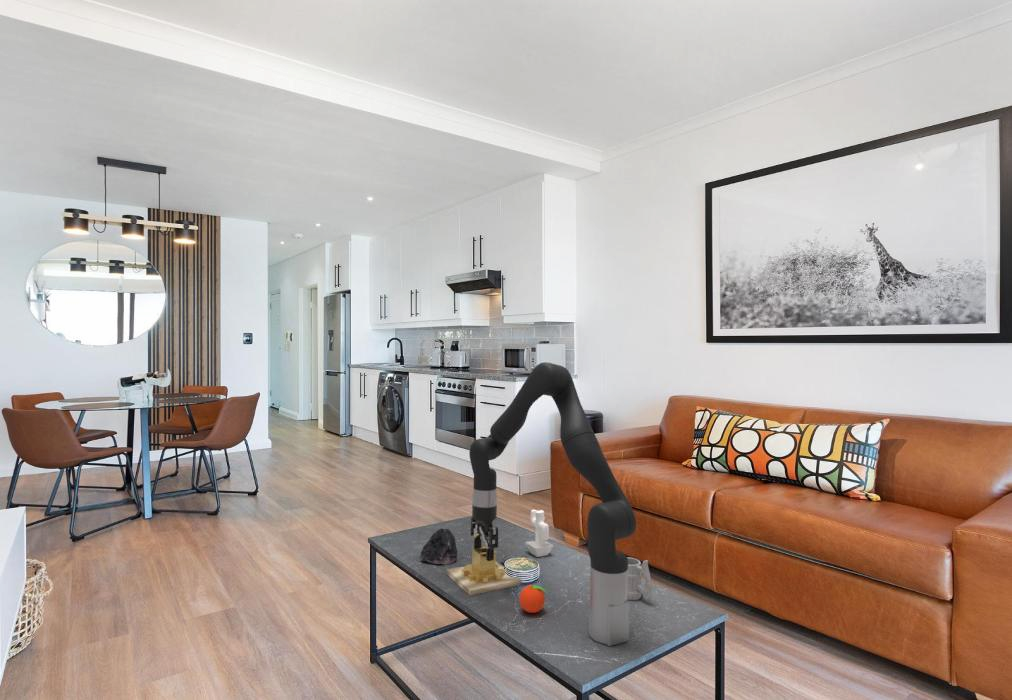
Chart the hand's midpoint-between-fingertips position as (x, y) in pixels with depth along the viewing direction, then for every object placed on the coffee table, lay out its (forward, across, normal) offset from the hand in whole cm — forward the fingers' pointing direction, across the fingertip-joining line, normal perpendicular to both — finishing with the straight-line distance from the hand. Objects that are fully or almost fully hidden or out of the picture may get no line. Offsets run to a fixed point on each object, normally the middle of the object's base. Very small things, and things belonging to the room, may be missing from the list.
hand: (483, 555), depth 175 cm
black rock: (+8, +22, +5) cm, 24 cm away
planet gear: (+6, 0, 0) cm, 6 cm away
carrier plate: (+7, 0, 0) cm, 7 cm away
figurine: (+8, +11, -27) cm, 30 cm away
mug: (+8, -30, -34) cm, 46 cm away
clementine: (+8, -25, -3) cm, 26 cm away
